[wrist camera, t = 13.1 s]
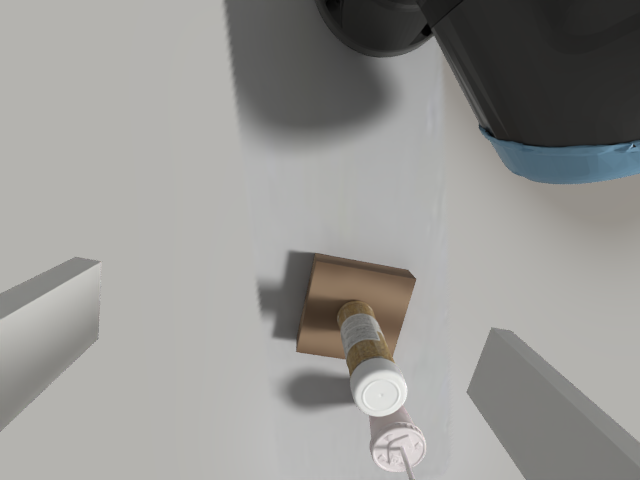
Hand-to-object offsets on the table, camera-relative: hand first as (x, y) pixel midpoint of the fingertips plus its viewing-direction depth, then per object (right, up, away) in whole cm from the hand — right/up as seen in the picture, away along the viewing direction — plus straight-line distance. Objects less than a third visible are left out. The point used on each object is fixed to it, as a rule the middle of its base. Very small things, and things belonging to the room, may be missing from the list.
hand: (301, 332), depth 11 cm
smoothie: (+9, -18, +36) cm, 41 cm away
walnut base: (+5, -5, +32) cm, 32 cm away
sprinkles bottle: (+5, -6, +29) cm, 30 cm away
